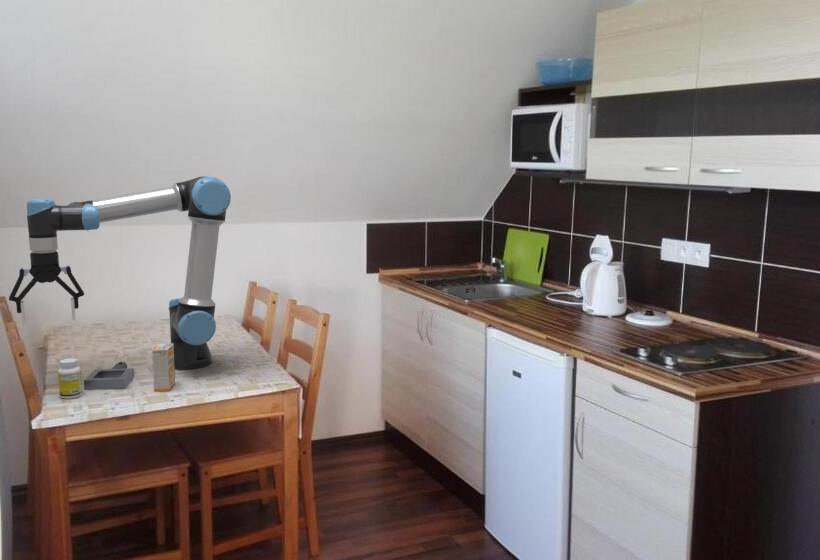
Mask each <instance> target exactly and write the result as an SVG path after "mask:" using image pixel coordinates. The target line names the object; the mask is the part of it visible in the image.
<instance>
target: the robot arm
mask: <svg viewBox="0 0 820 560" xmlns="http://www.w3.org/2000/svg"><path fill="white" fill-rule="evenodd" d="M231 197H232V195H231V192H230V189H229V187H228V186H227V184H226V183H225V182H223V181H222V180H221V179H219V178H217V177H213V176H198V177H195V178H191V179H189V180H185V181H179V182H175V183H173V184H172V186H169V187H164V188H157V189H152V190H146V191H145V190H144V191H138V192H133V193H128V194H127V193H126V194H121V195H115V196H109V197H104V198H97V199H91V200H85V201H74V202H70V203H68V204H67V205H57V204H56V203H55V200H54V199H52V198H35V199H33V198H31V199H29V200H28V201H27V202H26V218H27V230H28V231H27V232H28V243H29V246H28V247H29V251H30V254H29V258H30V268H29V269H28V268H23V267H21V268H19V276H18V278H17V280H16V282H15V284H14V287H13V288H12V290H11V291H10V294H9V297H8V300H9V301H11V302H14V303H16V313H18V314H21V324H22V325H26V316H25V315H26V314H25V301H24V300H23V299H24V298H25V296H26V295H27V294H28V293H29V292H30V290H31V289H32V288H33V287H34V286H35V285H36V284H37V283H40V284H44V283H49V284H50V283H54V281H55V282H56V283H57V284H59V285H60V286H61V288H63V289H64V291H66V292H67V293H68V294H69V295H70V296H72V297H70V301H71V303H70V305H71V318H72V321H76V309H77V310H78V309H79V298H81V297H83V296H85V292H84V290H83V289H82V286H80V284H79V283H78V281H77V279H76V278H75V275H73V273H72V270H71V269H72V268H71V265H66V266H64V267H63V266H62V267H61V266H60V263H59V262H60V261H59V259H60V258H59V252H58V251H57V250H59V248H58V247H59V245H58V234H57V232H58V231H59V232H62V231H63V232H64V231H93V230H94V231H95V230H99V228H100V224H102V223H106V222H107V223H108V222H113V221H119V220H123V219H130V218H136V217H140V216H141V217H142V216H147V215H153V214H159V213H164V212H165V213H166V212H169V211H178V212H181V213H182V212H188V214H187V218H188V219H189V221H190V222H191V231H190V239H189V249H188V255H187V257H188V258H187V266H186V277H185V285H184V294H183V296H182V297H180V298H173V299H170V300H169V303H168V311H169V330H170V331H169V333H170V344H174V366H175V370H188V369H189V370H190V369H191V370H193V369H199V368H203V367H208V366H209V365H211V364H212V362H213V358H212V357H213V356H212V353H211V350H210V348H209V345H208V342H209V341H211V339H212V338H214V335H215V333H216V329H217V324H216V323H217V322H216V319H215V312H216V303H215V301H214V300H213V299H212V296H213V295H212V294H213V288H214V287H213V286H214V278H215V277H214V276H215V269H216V267H215V266H216V261H217V260H216V258H217V250H218V243H219V235H220V234H219V233H220V227H221V225H222V224H224V223H225V222H226V214H227V210H228V208H229V206H230V204H231V200H232V199H231ZM61 272H62V273H64V274H65V275H67V276H68V278H69V280H70V281H71V283H72V284H73V287H75V289H76V291H77V292H75V290H73V289H72V288H71V287H70V286H69V285H68V284H67V283H66V282H65V281H64V280H63V279H62V278H61V277H59V275H60V274H61ZM28 274H30V275H31V276H32V279H31V280H30V281H29V283H28V284H27V285H26V286H25V287H24V288H23V290H22V291H21V292H20V293H19V295H17V296H16V294H17V293H18V291H19V289H20V287H21V285H22V283H23V281H24V277H27V276H28Z"/></svg>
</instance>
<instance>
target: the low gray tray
mask: <svg viewBox="0 0 820 560" xmlns="http://www.w3.org/2000/svg"><path fill="white" fill-rule="evenodd" d="M134 378H135V369H134V368H130V367H129V368H128V365H127V362H125V361H119V362H117V363H116V364H115V365H114V366H113V367H112V368H105V369H103V368H101V369H100V368H99V369H98V368H97V369H94V370H93V371H92V372H90V374H88V375H87V376H86V377H85V378H84V379H83V390H85V391H86V390H87V391H88V390H91V391H92V390H117V389H118V390H119V389H120V390H121V389H123V390H124V389H126V388H127V387H128V386H129V384H131V382H132V380H133V379H134Z"/></svg>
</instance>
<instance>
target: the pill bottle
mask: <svg viewBox="0 0 820 560" xmlns="http://www.w3.org/2000/svg"><path fill="white" fill-rule="evenodd" d="M57 375H58V376H57V377H58V378H57V379H58V391H59V398H60V399H63V398H65V400H73V399H77V398H80V397H81V396H83V384H82V383H83V382H82V381H83V380H82V369H81V367H80V366H78V359H77V358H73V357H72V358H71V357H70V358H64V359H62V360H61V359H60V361H59V369H58V370H57ZM72 398H73V399H72Z"/></svg>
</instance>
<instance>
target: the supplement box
mask: <svg viewBox="0 0 820 560" xmlns="http://www.w3.org/2000/svg"><path fill="white" fill-rule="evenodd" d="M151 351H152V368H153V369H152V370H153V389H154V392H169V391H170V390H171V389H172V388H173V386H174V385H175V384H176V371H175V370H176V369H175V366H174V344H171V343H158V344H157V345H156V346H155V347H154V348H153V349H152V350H151Z"/></svg>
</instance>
